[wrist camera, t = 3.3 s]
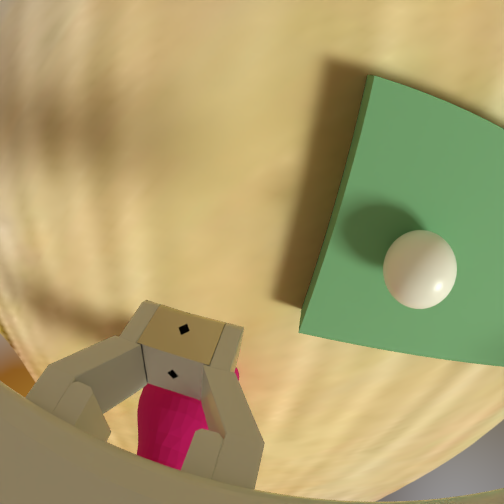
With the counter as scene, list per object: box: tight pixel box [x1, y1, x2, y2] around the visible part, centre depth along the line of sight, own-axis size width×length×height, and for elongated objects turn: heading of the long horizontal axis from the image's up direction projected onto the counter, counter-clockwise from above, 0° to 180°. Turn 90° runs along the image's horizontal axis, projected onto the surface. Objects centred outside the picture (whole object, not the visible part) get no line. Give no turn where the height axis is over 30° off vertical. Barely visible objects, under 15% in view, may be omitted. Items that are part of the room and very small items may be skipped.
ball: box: [383, 230, 457, 309], centre depth 13 cm, size 3×3×3 cm
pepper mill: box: [137, 368, 239, 470], centre depth 17 cm, size 7×7×20 cm
